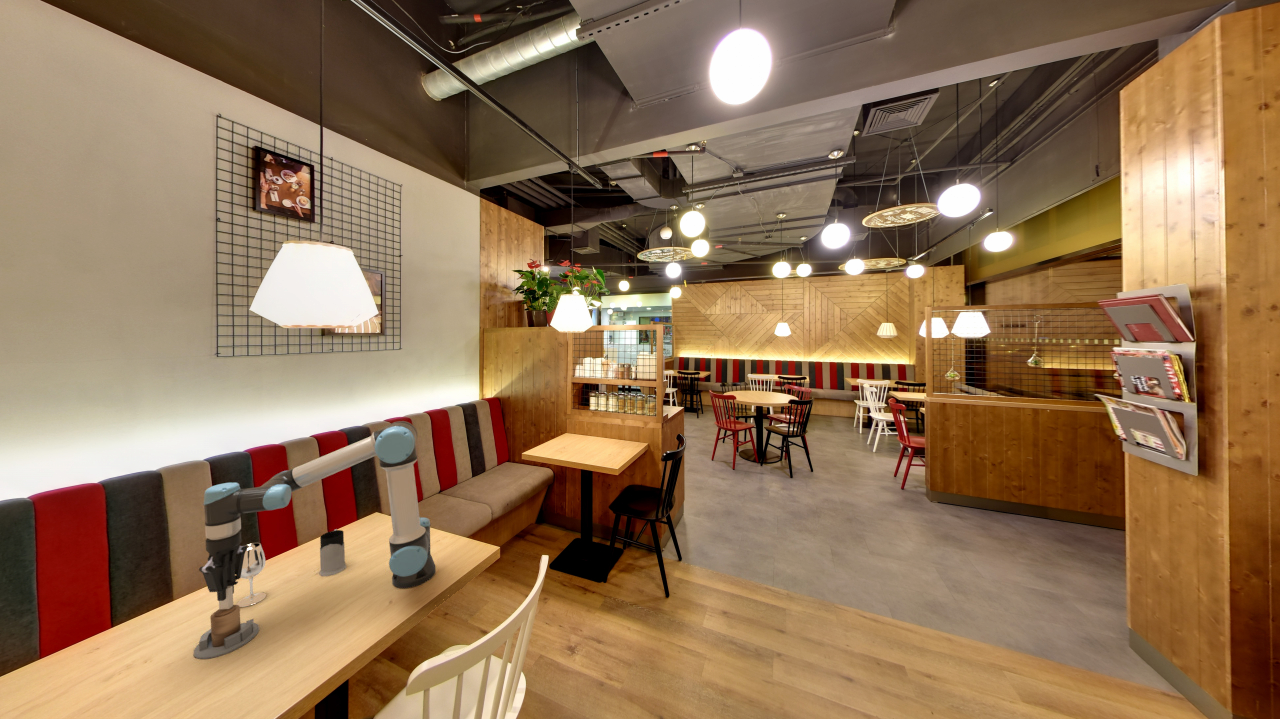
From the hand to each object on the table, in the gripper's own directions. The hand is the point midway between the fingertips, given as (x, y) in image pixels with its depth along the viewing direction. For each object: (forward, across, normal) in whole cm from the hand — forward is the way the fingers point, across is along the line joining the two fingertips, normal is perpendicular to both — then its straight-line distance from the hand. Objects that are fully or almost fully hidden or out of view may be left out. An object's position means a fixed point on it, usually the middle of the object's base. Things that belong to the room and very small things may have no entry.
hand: (226, 607), depth 120 cm
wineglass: (+11, -20, -10) cm, 25 cm away
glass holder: (+11, -40, +5) cm, 42 cm away
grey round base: (+11, 0, 0) cm, 11 cm away
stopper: (+10, 0, 0) cm, 10 cm away
